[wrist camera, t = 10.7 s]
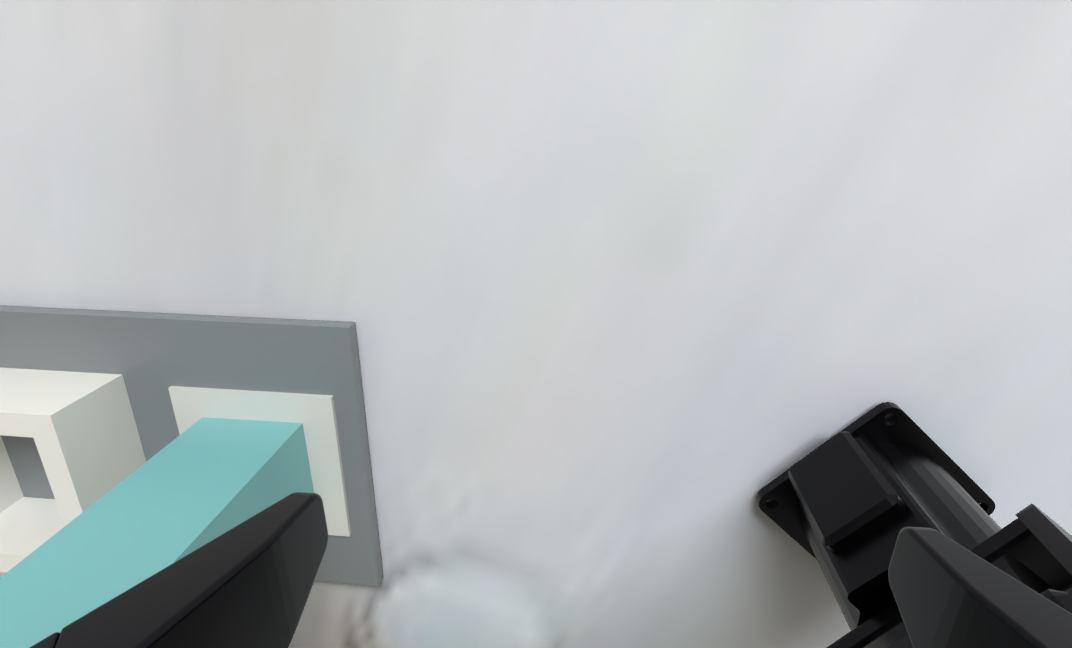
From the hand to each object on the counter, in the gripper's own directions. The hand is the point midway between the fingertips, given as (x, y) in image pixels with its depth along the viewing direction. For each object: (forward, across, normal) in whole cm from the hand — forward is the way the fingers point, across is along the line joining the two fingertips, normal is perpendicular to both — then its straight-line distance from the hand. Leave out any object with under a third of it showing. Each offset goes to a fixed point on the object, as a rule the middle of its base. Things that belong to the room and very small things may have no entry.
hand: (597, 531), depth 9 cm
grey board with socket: (+13, +19, +8) cm, 25 cm away
